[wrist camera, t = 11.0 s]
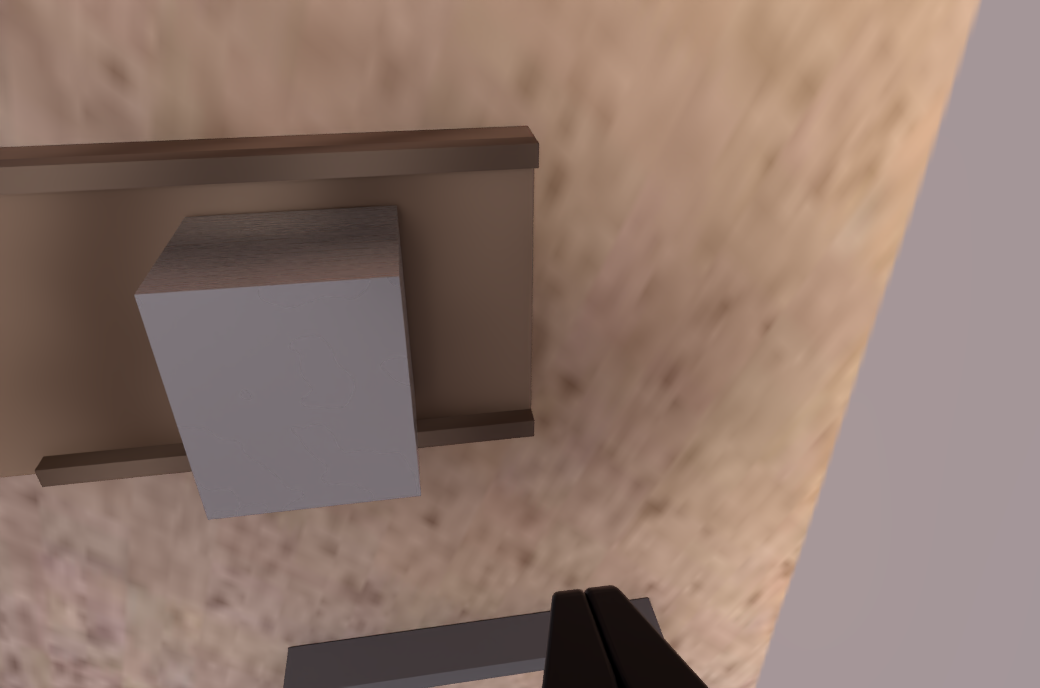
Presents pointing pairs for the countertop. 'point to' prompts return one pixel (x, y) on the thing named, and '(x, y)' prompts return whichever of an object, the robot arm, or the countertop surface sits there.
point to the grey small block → (287, 357)
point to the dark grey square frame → (430, 654)
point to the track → (244, 190)
